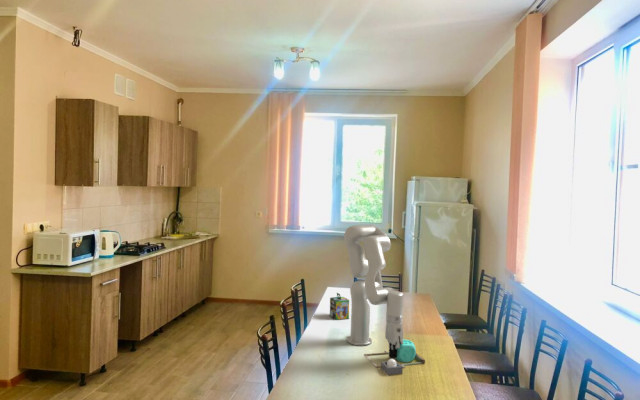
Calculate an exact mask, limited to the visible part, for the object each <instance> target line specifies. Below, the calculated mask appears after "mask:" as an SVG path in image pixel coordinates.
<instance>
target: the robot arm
mask: <svg viewBox="0 0 640 400" xmlns="http://www.w3.org/2000/svg"><path fill="white" fill-rule="evenodd" d="M343 240H344V243H345V246H346V250H347V253H348V262H349V270H350V274H351V276H352V277H353V278H357V279H359V278H360V280H357V281H354V282H352V283H351V284H350V289H349V292H350V299H351V311H350V312H351V316H350V336H348V337H347V339H346V340H347V342H348V343H349V344H350V345H354V346H360V347H361V346H370V345H371V344H372V342H373V339H372V338H371V337H370V321H371V319H370V318H371V307H370V306H371V305H373V306H379V305H386V315H385V316H386V317H385V318H386V319H385V321H386V323H385V324H386V325H385V339H386V340H387V341H386V342H388V352H389V354H388V357H389V358H390V359H396V357H397V349H398V348H400V345H399V343H400V344H401V345H402V344H403V339H404V326H403V317H404V315H403V314H404V298H405V297H404V293H403V292H401V291H399V290H398V291H397V290H395V288H393V287H391V286H390V287H389V286H388V287H383V285H384V284H383V281H382V280H383V279H382V273H381V272H382V270H383V269H385V268H386V266H387V264H386V259H385V255H384V253H385V252H388V251H390V250H391V247H392V244H391V243H392V242H391V240H390V237H389V236H388V235H387V234H386V233H385V232H384V231H383V230H381V229H380V228H379V227H378V226H376V225H373V224H356V225H351V226H348V227H347V228H346V229H345V231H344V237H343ZM359 242H362V243H363V245H361V244H360V243H359ZM361 278H363V280H362V279H361ZM364 278H365V279H364ZM367 300H368V301H369V303H370V304H371V305H370V304H369V303H368V301H367Z"/></svg>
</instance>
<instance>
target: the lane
mask: <svg viewBox="0 0 640 400" xmlns="http://www.w3.org/2000/svg"><path fill="white" fill-rule="evenodd" d="M363 355H364V357H365V358H366V359H367V360H369V362H370V363H372V365H374V367H375V368H376V369H381V365H377V363H376V362H374V360H373V359H372V358H371V357H370V356H380V355H381V356H383V355H389V351H388V350H386V349H385V350H384V352H375V353H373V352H372V353H364V354H363ZM414 359H415V360H417V361H418V362H405V363H399V364H400V365H401V366H402V367H403V369H406V366H413V365H414V366H415V365H416V366H417V365H425V364H426V360H425V358H423V357H422V356H421V355H420V354H418V353H417V352H416V355H415V358H414Z"/></svg>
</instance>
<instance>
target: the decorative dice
mask: <svg viewBox="0 0 640 400" xmlns="http://www.w3.org/2000/svg"><path fill="white" fill-rule="evenodd" d="M399 345H400V348H398V349H397V357H396V358H395V360H396V361H397V362H398V361H399V362H401V363H412V361H413V360H414V359H416V358H415V355H416V353H417V352H416V351H417V350H416V345H415V344H414V342H413V341H412V340H409V339H404V338H403V344H402V345H401V344H400V343H399Z"/></svg>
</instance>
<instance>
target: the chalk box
mask: <svg viewBox="0 0 640 400" xmlns="http://www.w3.org/2000/svg"><path fill="white" fill-rule="evenodd" d="M329 316H330V317H331V319H333V320H335V321H337V320H347V319H348V320H349V319H350V299H348V298H347V297H344V296H342V295H341V294H340V293H338V292H336V296H333V297H330V298H329Z"/></svg>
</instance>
